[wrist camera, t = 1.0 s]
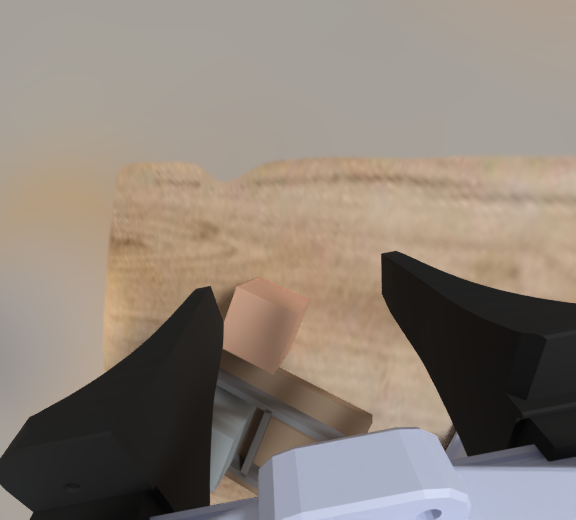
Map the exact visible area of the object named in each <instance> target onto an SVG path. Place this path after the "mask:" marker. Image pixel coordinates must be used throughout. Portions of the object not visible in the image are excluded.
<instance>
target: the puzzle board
mask: <svg viewBox="0 0 576 520" xmlns="http://www.w3.org/2000/svg"><path fill="white" fill-rule="evenodd" d="M371 424H372V414H370V413H368V412H366V411H364V410H362V409H360V408H358V407H356V406H354V405H352V404H350V403H348V402H346V401H344V400H342V399H340V398H338V397H336V396H334V395H332V394H330V393H328V392H326V391H325V390H323V389H321V388H319V387H317V386H315V385H313V384H311V383H309V382H307V381H305V380H303V379H301V378H299V377H297V376H295V375H293V374H291V373H289V372H287V371H285V370H283V369H281V368H279V367H278V369H277V370H276V372H275V373H274V375H273V374H271V373H269V372H267V371H265V370H263V369H261V368H259V367H257V366H255V365H254V364H252V363H250V362H248V361H246V360H244V359H242V358H240V357H238V356H236V355H234V354H232V353H230V352H228V351H226V350H225V349H222V356H221V362H220V367H219V373H218V379H217V384H216V390H215V397H214V404H213V419H212V437H211V462H210V491H212V492H213V493H214V491H215V489H216V487H217V486H218V484H219V482H220V481H221V479H222V477H223V476H224V475H225V476H227V477H228V478H230V479H232V480H233V481H235V482H236V483H238V484H240V485H241V486H243V487H245V488H246V489H248V490H249V491H251V492H253V493H254V494H256V495H257V496H258V474H259V469H260V468H261V467H262V466H263V465H264V464H265V463H266V462H267V461H268V460H269V459H270V458H271V457H272V456H273V455H274V454H276V453H279V452H282V451H284V450H287V449H290V448H293V447H296V446H301V445H307V444H312V443H317V442H323V441H328V440H333V439H338V438H344V437H349V436H354V435H359V434H365V433H367V432H368V430H369V428H370V426H371Z"/></svg>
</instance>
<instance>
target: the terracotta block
mask: <svg viewBox="0 0 576 520" xmlns="http://www.w3.org/2000/svg"><path fill="white" fill-rule="evenodd" d="M309 302H310V299H308V298H305V297H303V296H301V295H299V294H297V293H294V292H292V291H290V290H288V289H285V288H283V287H281V286H279V285H276V284H274V283H272V282H270V281H267V280H265V279H263V278H261V277H258V278H256V279H254V280H251V281H249V282H246V283H244V284H242V285H239V286H237V287H236V289H235V292H234V295H233V298H232V301H231V304H230V307H229V309H228V312H227V315H226V318H225V321H224V338H223V349H225V350H226V351H228V352H230V353H232V354H234V355H236V356H238V357H240V358H242V359H244V360H246V361H248V362H250V363H252V364H254V365H255V366H257V367H259V368H261V369H263V370H265V371H267V372H269V373H271V374H273V375H274V373H275V372H276V370H277V369H278V367H279V366H280V364H281V363H282V361H283V360H284V358H285V357H286V355H287V354H288V352H289V351H290V349H291V347H292V344H293V342H294V339H295V337H296V334H297V332H298V329H299V327H300V324H301V322H302V319H303V317H304V314H305V312H306V310H307V307H308V305H309Z"/></svg>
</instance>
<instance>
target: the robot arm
mask: <svg viewBox="0 0 576 520" xmlns="http://www.w3.org/2000/svg"><path fill="white" fill-rule="evenodd" d="M381 265H382V295H383V297H384V299H385V302H386V304H387V306H388V308H389V310H390V312H391V314H392V316H393V317H394V319H395V320H396V322H397V323H398V325H399V326H400V328H401V330H402V331H403V333H404V334H405V336H406V337H407V339H408V340H409V342H410V343H411V345H412V346H413V348H414V349H415V351H416V352H417V354H418V355H419V357H420V359H421V360H422V362H423V364H424V365H425V367H426V369H427V371H428V373H429V375H430V377H431V379H432V381H433V383H434V385H435V387H436V389H437V391H438V393H439V395H440V397H441V399H442V401H443V403H444V405H445V407H446V410H447V412H448V414H449V416H450V418H451V420H452V423H453V425H454V427H455V429H456V433H455V435H454V437H453V438H452V440H451V442H450V444H449V446H448V448H447V449H446V451H444V449H443V447H442V445H441V443H440V441H439V439H438V437H437V436H436V435H434V434H432V433H429V432H427V431H425V430H423V429H420V428H417V427H400V428H391V429H386V430H380V431H375V432H370V433H365V434H359V435H354V436H349V437H344V438H338V439H333V440H328V441H323V442H317V443H312V444H307V445H301V446H296V447H293V448H290V449H287V450H284V451H282V452H279V453H276V454H274V455H273V456H272V457H271V458H270V459H269V460H268V461H267V462H266V463H265V464H264V465H263V466H262V467H261V468H260V469H259V474H258V497H254V498H249V499H243V500H238V501H233V502H227V503H222V504H217V505H212V506H210V462H211V437H212V419H213V404H214V397H215V390H216V384H217V379H218V373H219V367H220V362H221V356H222V349H223V338H224V323H223V320H222V317H221V314H220V311H219V309H218V306H217V303H216V300H215V297H214V294H213V291H212V289H211V286H208V287H203V288H198V289H196V290H195V291H193V292H192V294H191V295H190V296H189V297H188V298H187V299H186V300H185V301H184V302H183V304H182V305H181V306H180V307H179V308H178V309H177V310H176V311H175V312H174V313H173V315H172V316H171V317H170V318H169V319H168V320H167V321H166V322H165V323H164V324H163V325H162V326H161V327H160V328H159V329H158V330H157V331H156V332H155V333H154V334H153V335H152V336H151V337H150V338H149V339H148V340H146V341H145V342H144V343H143V344H142V345H141V346H140V347H138V348H137V349H136V350H135V351H134V352H132V353H131V354H130V355H129V356H127V357H126V358H125V359H123V360H122V361H121V362H119V363H118V364H117V365H115V366H114V367H112V368H111V369H110V370H108V371H107V372H106V373H104V374H103V375H101V376H100V377H99V378H97V379H95V380H94V381H92V382H91V383H89V384H88V385H86V386H85V387H83V388H81V389H79V390H78V391H76V392H75V393H73V394H71V395H70V396H68V397H66V398H65V399H62V400H61V401H59V402H57V403H55V404H53V405H51V406H50V407H48V408H46V409H44V410H42V411H41V412H39V413H37V414H35V415H34V416H31V417H29V419H28V420H27V421H26V423H25V424H24V426H23V427H22V428H21V430H20V431H19V433H18V434H17V435H16V437H15V438H14V440H13V441H12V442H11V444H10V445H9V447H8V448H7V450H6V451H5V453H4V454H3V455H2V457H1V458H0V484H1V486H2V487H3V488H4V489H5V490H6V491H8V492H9V493H10V494H11V495H13V496H14V497H15V498H16V499H18V500H19V501H20V502H21V503H23V504H24V505H25V506H26V507H28V508H29V509H30V510H31V511H33V514H32V516H31V518H30V520H576V303H568V302H560V301H554V300H547V299H541V298H535V297H530V296H524V295H520V294H515V293H511V292H506V291H502V290H498V289H494V288H490V287H487V286H484V285H480V284H477V283H473V282H470V281H467V280H464V279H462V278H459V277H456V276H454V275H451V274H448V273H446V272H443V271H441V270H438V269H436V268H434V267H431V266H429V265H427V264H425V263H423V262H420V261H418V260H416V259H414V258H412V257H409V256H407V255H405V254H403V253H400V252H397V251H393V252H388V253H383V254H381Z"/></svg>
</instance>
